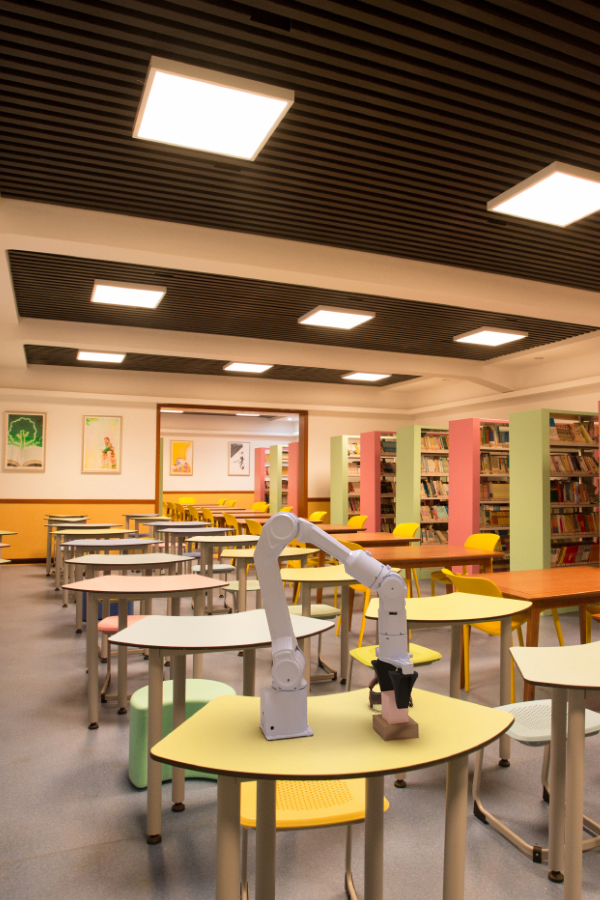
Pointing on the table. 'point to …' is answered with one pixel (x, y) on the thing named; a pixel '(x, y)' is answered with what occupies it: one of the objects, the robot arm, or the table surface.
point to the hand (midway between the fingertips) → (394, 701)
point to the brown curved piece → (377, 694)
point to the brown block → (395, 729)
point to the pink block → (392, 709)
